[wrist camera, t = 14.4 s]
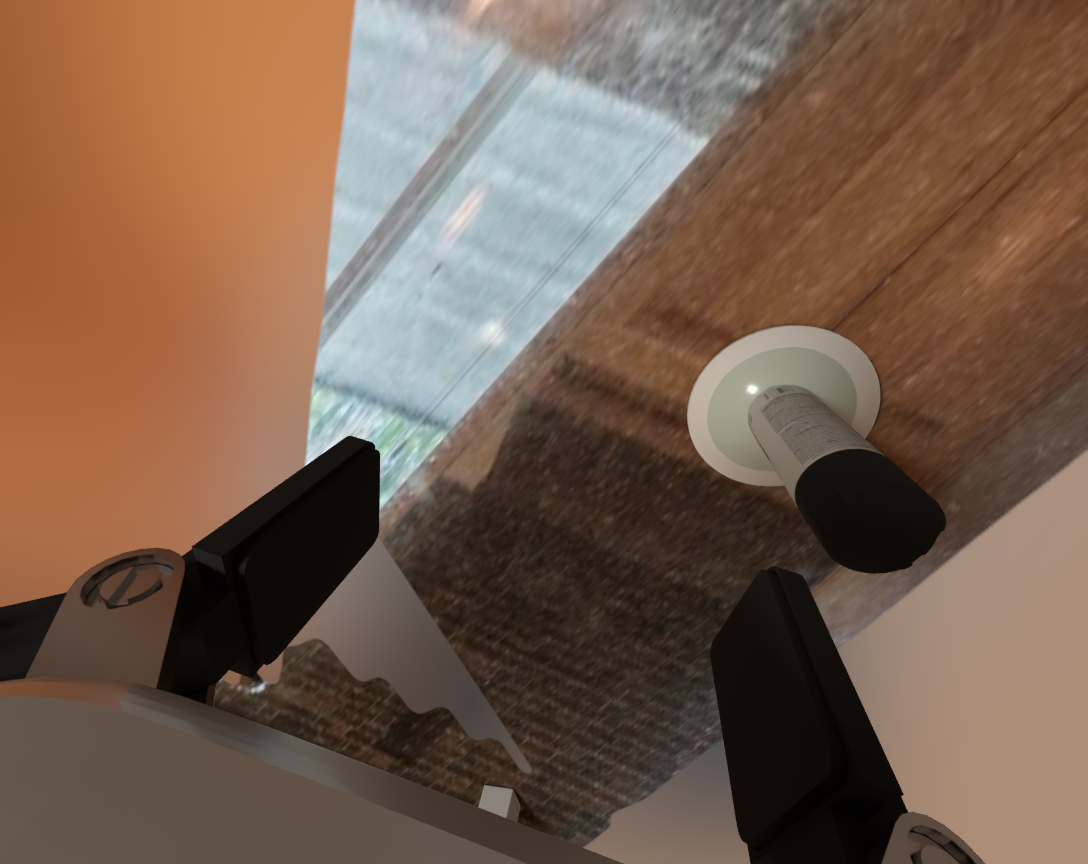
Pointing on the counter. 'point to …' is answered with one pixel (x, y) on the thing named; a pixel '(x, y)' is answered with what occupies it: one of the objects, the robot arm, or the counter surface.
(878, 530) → the spray can
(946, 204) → the counter surface
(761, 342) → the dish
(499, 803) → the milk carton
